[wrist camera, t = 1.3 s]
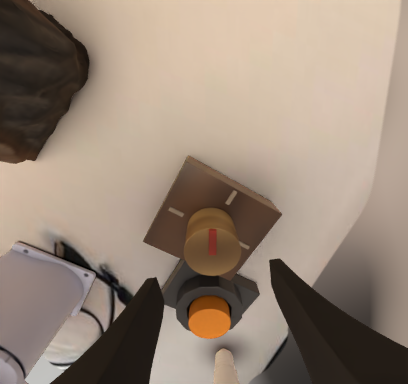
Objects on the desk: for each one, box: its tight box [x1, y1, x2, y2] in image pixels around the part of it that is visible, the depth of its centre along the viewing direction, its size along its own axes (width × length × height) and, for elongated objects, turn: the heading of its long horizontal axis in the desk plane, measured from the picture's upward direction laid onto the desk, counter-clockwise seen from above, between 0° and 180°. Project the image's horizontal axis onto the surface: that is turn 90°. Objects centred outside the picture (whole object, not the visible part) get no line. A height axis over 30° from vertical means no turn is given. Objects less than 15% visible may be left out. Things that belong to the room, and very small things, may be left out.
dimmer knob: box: [184, 208, 241, 276], centre depth 16 cm, size 4×4×4 cm
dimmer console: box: [143, 156, 282, 281], centre depth 19 cm, size 10×9×3 cm
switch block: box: [161, 259, 260, 331], centre depth 23 cm, size 10×7×4 cm
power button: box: [188, 295, 231, 339], centre depth 21 cm, size 4×4×2 cm
